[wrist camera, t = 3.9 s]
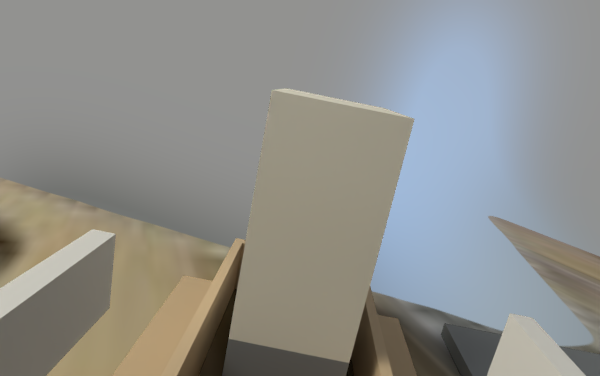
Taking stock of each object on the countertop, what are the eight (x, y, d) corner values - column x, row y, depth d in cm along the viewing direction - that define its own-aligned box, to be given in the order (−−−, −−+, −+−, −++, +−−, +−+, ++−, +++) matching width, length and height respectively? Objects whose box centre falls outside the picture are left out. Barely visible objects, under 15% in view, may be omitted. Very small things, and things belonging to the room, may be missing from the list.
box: (328, 334, 28) (384, 108, 24) (331, 428, 21) (414, 118, 17) (244, 317, 28) (287, 88, 24) (216, 405, 21) (271, 89, 17)
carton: (388, 295, 36) (399, 254, 35) (504, 651, 13) (547, 564, 12) (198, 257, 36) (204, 215, 35) (-7, 548, 13) (-7, 453, 12)
